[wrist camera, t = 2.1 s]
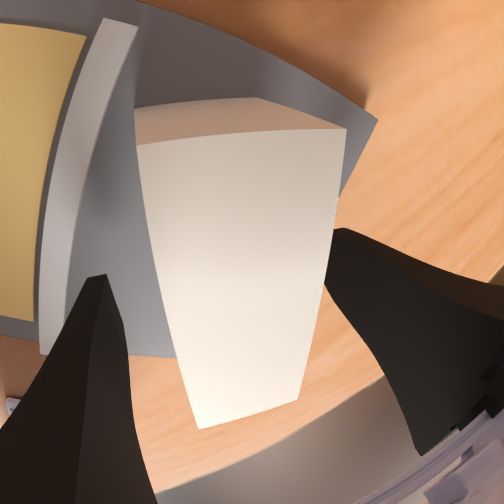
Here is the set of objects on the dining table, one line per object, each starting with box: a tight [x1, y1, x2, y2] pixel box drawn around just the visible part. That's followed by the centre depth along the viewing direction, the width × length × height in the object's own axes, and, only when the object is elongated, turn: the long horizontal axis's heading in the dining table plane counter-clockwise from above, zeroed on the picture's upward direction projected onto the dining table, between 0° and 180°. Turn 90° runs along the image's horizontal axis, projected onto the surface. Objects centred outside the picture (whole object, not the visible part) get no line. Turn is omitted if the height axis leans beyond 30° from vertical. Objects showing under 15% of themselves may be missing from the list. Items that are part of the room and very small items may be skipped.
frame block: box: [134, 97, 347, 429], centre depth 10 cm, size 10×4×5 cm, turn 177°
